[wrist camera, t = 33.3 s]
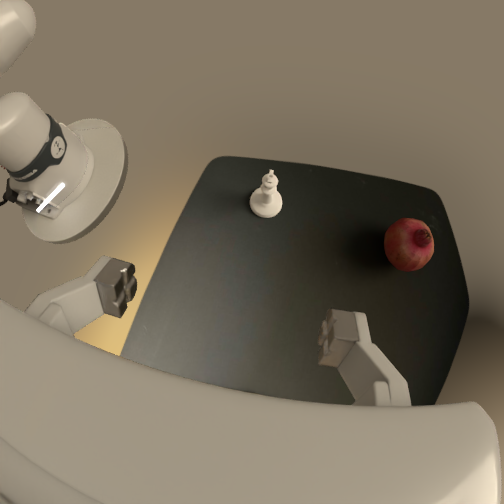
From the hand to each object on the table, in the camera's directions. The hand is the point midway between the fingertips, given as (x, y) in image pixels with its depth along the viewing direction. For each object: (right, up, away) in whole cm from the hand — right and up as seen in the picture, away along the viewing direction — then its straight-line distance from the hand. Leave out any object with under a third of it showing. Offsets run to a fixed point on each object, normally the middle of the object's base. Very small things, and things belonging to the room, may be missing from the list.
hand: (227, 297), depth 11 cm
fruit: (+24, +2, +31) cm, 39 cm away
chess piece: (+3, +9, +32) cm, 33 cm away
